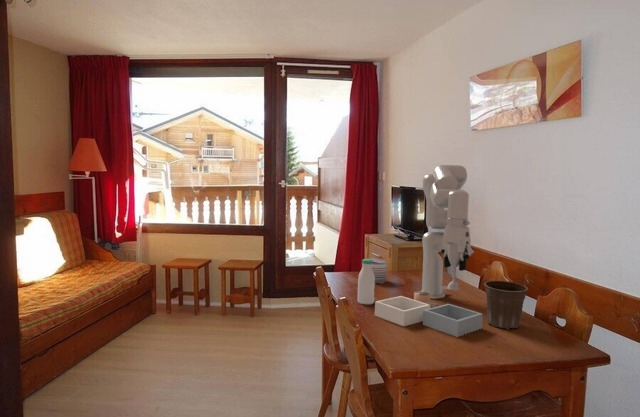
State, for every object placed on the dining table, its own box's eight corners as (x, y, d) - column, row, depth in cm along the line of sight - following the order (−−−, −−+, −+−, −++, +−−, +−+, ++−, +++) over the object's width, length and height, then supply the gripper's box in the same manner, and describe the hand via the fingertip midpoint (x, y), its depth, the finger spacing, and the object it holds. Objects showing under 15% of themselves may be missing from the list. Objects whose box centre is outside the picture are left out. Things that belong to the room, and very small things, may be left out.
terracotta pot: (420, 305, 205) (421, 290, 205) (432, 309, 200) (433, 294, 199) (410, 308, 201) (410, 292, 201) (422, 312, 196) (423, 296, 195)
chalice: (441, 286, 181) (444, 241, 179) (458, 286, 181) (460, 241, 180) (448, 291, 173) (450, 244, 172) (465, 291, 174) (468, 244, 172)
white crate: (400, 309, 200) (401, 295, 199) (429, 319, 187) (430, 304, 186) (374, 315, 190) (375, 301, 189) (403, 326, 177) (404, 311, 177)
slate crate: (447, 317, 190) (448, 303, 189) (481, 328, 177) (482, 313, 176) (422, 324, 180) (423, 310, 179) (457, 337, 167) (457, 321, 167)
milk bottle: (373, 305, 204) (375, 261, 202) (356, 304, 206) (357, 260, 204) (374, 300, 212) (376, 258, 210) (358, 299, 213) (359, 257, 211)
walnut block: (426, 313, 195) (426, 301, 195) (437, 315, 193) (438, 303, 192) (422, 316, 191) (422, 304, 191) (434, 318, 188) (434, 306, 188)
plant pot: (526, 334, 172) (529, 292, 171) (481, 328, 178) (484, 287, 176) (523, 321, 188) (526, 283, 186) (482, 316, 193) (484, 279, 192)
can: (365, 278, 256) (366, 257, 255) (385, 279, 255) (386, 258, 254) (364, 283, 245) (365, 261, 244) (386, 284, 244) (386, 262, 243)
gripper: (482, 224, 170) (479, 271, 172) (444, 220, 184) (442, 263, 186) (470, 225, 166) (468, 274, 167) (432, 220, 180) (430, 265, 181)
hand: (454, 268), depth 177 cm, fingers closed on chalice, 6 cm apart
